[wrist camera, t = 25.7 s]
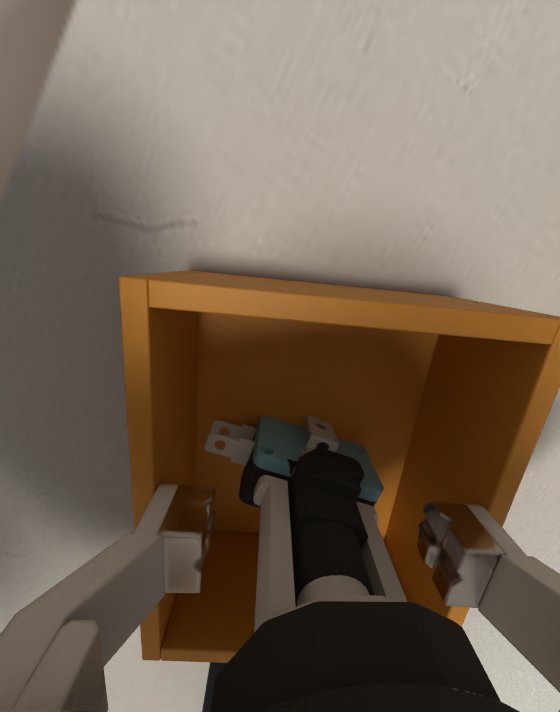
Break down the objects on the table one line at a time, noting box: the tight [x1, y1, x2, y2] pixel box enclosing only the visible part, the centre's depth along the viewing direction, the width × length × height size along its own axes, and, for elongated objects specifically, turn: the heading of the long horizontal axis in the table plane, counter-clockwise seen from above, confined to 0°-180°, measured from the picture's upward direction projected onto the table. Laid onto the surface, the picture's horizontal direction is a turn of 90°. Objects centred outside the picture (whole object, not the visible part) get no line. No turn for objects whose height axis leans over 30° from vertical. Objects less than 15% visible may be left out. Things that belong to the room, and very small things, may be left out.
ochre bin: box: [119, 270, 560, 663], centre depth 11 cm, size 10×12×5 cm
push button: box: [205, 415, 519, 712], centre depth 8 cm, size 7×5×10 cm
